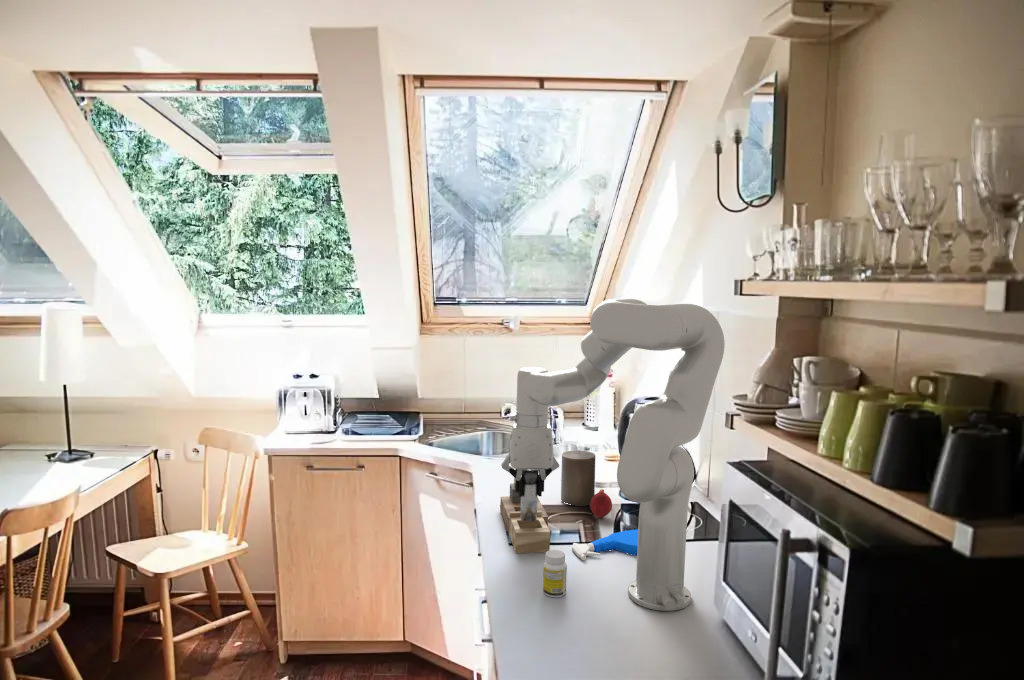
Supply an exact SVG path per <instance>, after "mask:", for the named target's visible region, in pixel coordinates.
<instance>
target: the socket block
mask: <svg viewBox="0 0 1024 680" xmlns="http://www.w3.org/2000/svg"><path fill="white" fill-rule="evenodd" d="M499 502H500V505H499V507H500V510H499V511H500V514H501V517H502V519H503V522H504V525H505V528H506V531H507V533H508V534H509V517H510V512H517V511H520V510H521V497H519V495H518V492H515V484H514V483H509V496H500V501H499ZM537 511H542V517H543V519H544V521H545V523H546V525H547V527H548V528H549V516H548V514H547V512H546V510H545V508H544V506H543V505H542V503H541V500H540V499H539V498H538V500H537Z"/></svg>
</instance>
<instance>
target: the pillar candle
mask: <svg viewBox="0 0 1024 680" xmlns="http://www.w3.org/2000/svg"><path fill="white" fill-rule="evenodd" d="M595 480H596V454H595V453H594V452H591V451H589V450H588V451H587V450H581V449H580V450H575V449H574V450H568V451H564V452H563V453H561V477H560V483H561V485H560V501H561V500H562V501H563V502H565V503H568V504H571V505H575V506H574V507H587V506H586V505H589V506H590V503H591V499H592V497H593V496H594V495H595V494H596V493H595V492H596V491H595V490H596V489H595V488H596V486H595V484H596V481H595ZM562 501H561V502H562ZM563 502H562V503H563ZM571 505H570V506H571Z"/></svg>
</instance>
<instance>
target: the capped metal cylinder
mask: <svg viewBox="0 0 1024 680" xmlns="http://www.w3.org/2000/svg"><path fill="white" fill-rule="evenodd" d="M538 475H539V470H538V469H523V471H522V475H521V477H522V481H523V491H522V497H521V510H520V519H521V520H523V521H528V522H531V521H535V520H537V500H538V499H539V496H538Z"/></svg>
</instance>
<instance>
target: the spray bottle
mask: <svg viewBox="0 0 1024 680" xmlns="http://www.w3.org/2000/svg"><path fill="white" fill-rule="evenodd" d="M637 549H638V528H636V529H629V530H623V531H618V532H613V533H609V535H607V536H603V537H602V538H598V539H595V540H593V541H591V542H590V543H588V542H587V543H576V542H573V543H572V546H571V551H572V552H573V553H574V554H575V555H576V556H577V557H578V558H579V559H580V560H582V561H585V560H586V557H587V556H602V554H601V553H600V552H604V551H605V552H607V551H609V550H611V551H618V552H622V553H624V554H627V553H628V554H627V555H631V554H632V555H631V556H637ZM595 552H596V553H595ZM598 552H599V553H598Z"/></svg>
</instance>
